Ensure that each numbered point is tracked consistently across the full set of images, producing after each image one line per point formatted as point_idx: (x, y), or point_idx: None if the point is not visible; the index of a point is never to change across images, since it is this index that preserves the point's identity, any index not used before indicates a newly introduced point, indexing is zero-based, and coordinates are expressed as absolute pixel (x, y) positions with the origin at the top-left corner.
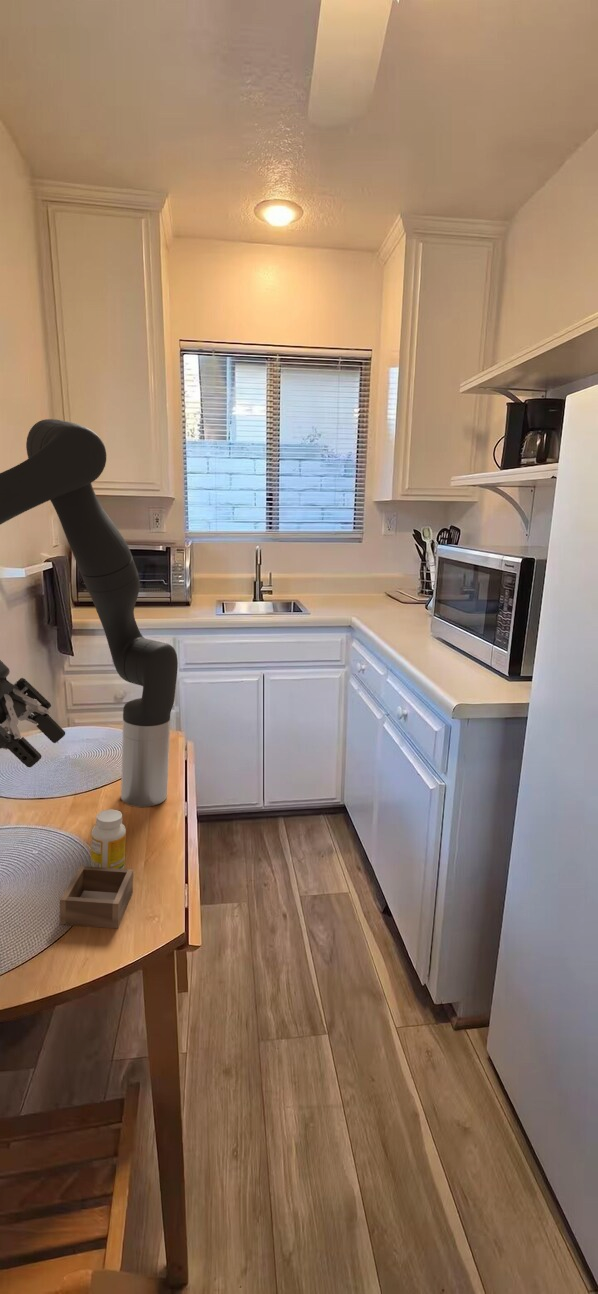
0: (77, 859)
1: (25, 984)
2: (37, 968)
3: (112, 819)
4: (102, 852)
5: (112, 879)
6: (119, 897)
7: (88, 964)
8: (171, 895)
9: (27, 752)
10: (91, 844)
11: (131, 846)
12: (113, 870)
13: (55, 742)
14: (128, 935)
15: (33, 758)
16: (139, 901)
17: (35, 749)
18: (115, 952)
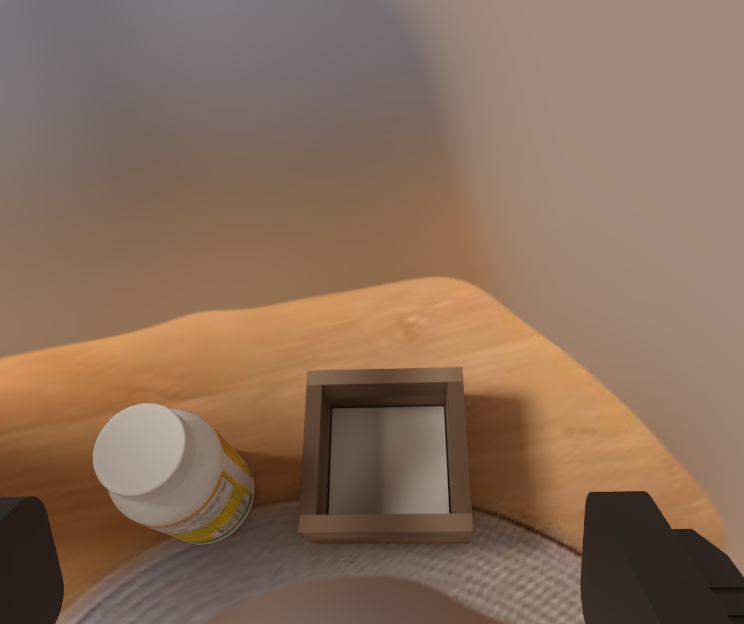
0: (162, 606)
1: None
2: None
3: (168, 427)
4: (233, 478)
5: (323, 432)
6: (435, 371)
7: (585, 422)
8: (323, 306)
9: (737, 597)
10: (196, 524)
11: None
12: (315, 423)
13: (60, 592)
14: (476, 364)
15: (693, 534)
16: None
17: (625, 543)
18: (536, 376)
